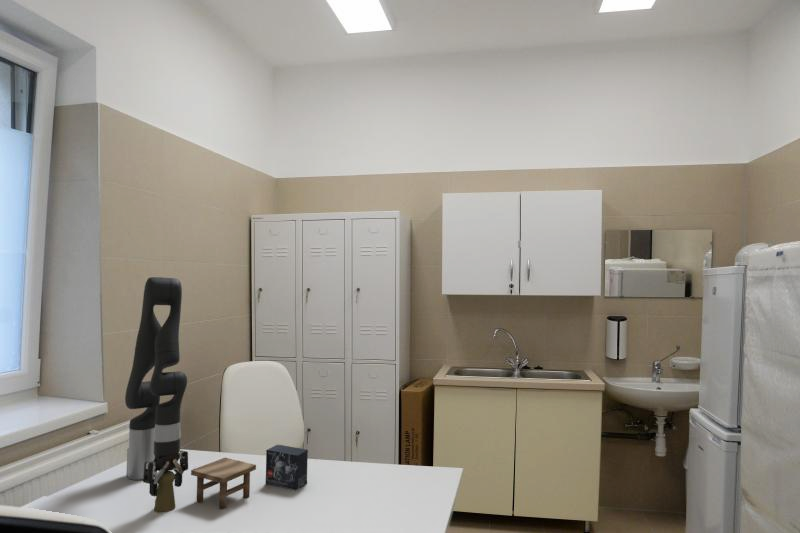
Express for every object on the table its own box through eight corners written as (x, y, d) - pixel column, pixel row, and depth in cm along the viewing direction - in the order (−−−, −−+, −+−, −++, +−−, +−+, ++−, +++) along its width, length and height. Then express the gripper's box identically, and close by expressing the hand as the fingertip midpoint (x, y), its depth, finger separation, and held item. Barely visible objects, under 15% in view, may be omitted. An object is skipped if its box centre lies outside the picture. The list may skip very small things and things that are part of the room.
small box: (264, 484, 182) (265, 449, 183) (276, 477, 189) (277, 444, 189) (297, 490, 177) (297, 454, 178) (307, 483, 184) (308, 449, 184)
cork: (167, 513, 158) (168, 476, 159) (149, 511, 160) (150, 474, 160) (179, 505, 164) (180, 469, 165) (162, 503, 166) (163, 467, 166)
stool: (190, 502, 167) (191, 470, 167) (224, 487, 179) (225, 457, 179) (222, 511, 160) (223, 478, 160) (255, 495, 172) (256, 464, 173)
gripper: (178, 430, 171) (177, 481, 170) (138, 441, 158) (137, 496, 157) (194, 433, 167) (193, 485, 166) (155, 445, 155) (153, 501, 154)
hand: (166, 490), depth 162 cm, fingers open, 8 cm apart
